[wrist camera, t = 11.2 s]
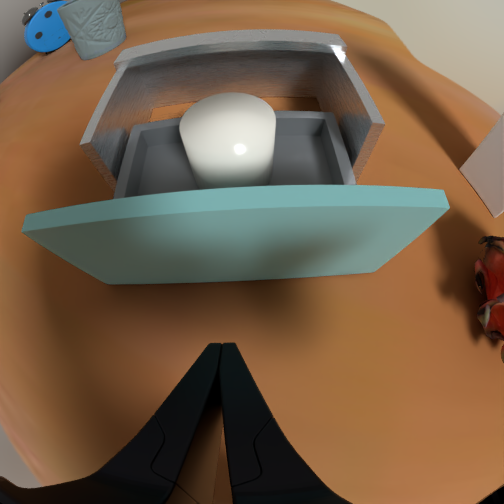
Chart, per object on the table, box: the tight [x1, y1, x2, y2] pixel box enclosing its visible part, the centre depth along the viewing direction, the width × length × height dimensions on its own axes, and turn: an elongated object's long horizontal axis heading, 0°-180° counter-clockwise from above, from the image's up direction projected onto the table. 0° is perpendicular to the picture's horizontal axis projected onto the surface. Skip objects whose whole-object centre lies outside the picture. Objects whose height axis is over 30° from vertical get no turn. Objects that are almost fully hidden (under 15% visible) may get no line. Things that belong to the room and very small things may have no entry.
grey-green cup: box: [57, 0, 126, 60], centre depth 25 cm, size 10×10×12 cm
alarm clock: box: [22, 0, 71, 54], centre depth 28 cm, size 13×6×15 cm, turn 137°
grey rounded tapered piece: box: [179, 92, 276, 190], centre depth 15 cm, size 5×5×4 cm
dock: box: [79, 30, 385, 193], centre depth 17 cm, size 11×17×7 cm, turn 93°
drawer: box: [22, 111, 450, 284], centre depth 14 cm, size 11×17×8 cm, turn 93°
